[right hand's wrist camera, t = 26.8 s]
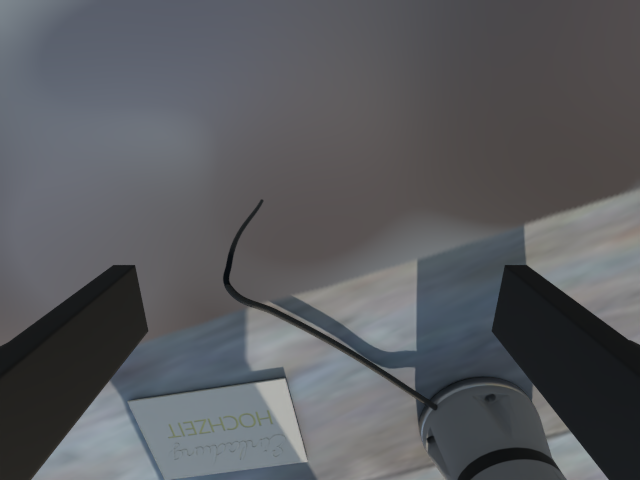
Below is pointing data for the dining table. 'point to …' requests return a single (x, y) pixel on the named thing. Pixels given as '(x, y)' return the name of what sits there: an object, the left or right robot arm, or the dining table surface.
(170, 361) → the dining table surface
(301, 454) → the invitation card
